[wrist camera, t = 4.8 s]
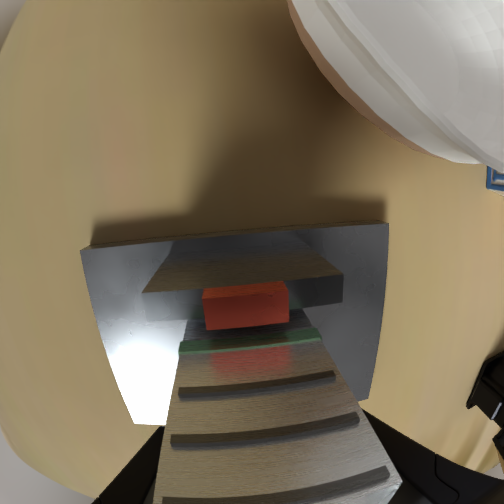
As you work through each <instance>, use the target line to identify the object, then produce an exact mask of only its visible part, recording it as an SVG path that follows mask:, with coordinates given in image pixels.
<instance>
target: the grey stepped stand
mask: <svg viewBox="0 0 504 504" xmlns="http://www.w3.org/2000/svg"><path fill="white" fill-rule="evenodd" d="M388 239H389V223H386V222H382V221H379V220H374V221H357V222H341V223H326V224H312V225H298V226H285V227H272V228H259V229H247V230H236V231H224V232H213V233H202V234H192V235H181V236H171V237H161V238H152V239H142V240H133V241H124V242H115V243H106V244H97V245H89V246H87V247H86V248H84V249H82V250H80V254H81V259H82V264H83V269H84V274H85V278H86V283H87V287H88V291H89V295H90V299H91V303H92V307H93V311H94V314H95V318H96V321H97V325H98V328H99V331H100V335H101V338H102V341H103V344H104V347H105V350H106V353H107V356H108V359H109V362H110V365H111V367H112V370H113V373H114V375H115V378H116V381H117V383H118V386H119V388H120V391H121V393H122V396H123V398H124V400H125V403H126V405H127V407H128V410H129V412H130V414H131V416H132V419H133V421H134V423H136V424H159V425H165V424H166V419H167V413H168V408H169V403H170V398H171V393H172V388H173V383H174V378H175V374H176V369H177V364H178V360H179V355H178V349H179V345H180V341H183V337H184V333H185V328H186V324H187V320H188V319H202V318H205V323H206V329H207V330H217V329H229V328H240V327H250V326H260V325H269V324H277V323H285V322H289V310H292V309H300V308H302V309H303V311H304V312H305V314H306V316H307V317H308V319H309V321H310V322H311V324H312V326H313V327H314V328H315V327H316V328H317V330H318V331H319V333H320V335H321V336H322V343H323V344H324V346H325V348H326V349H327V351H328V353H329V354H330V356H331V358H332V359H333V361H334V363H335V365H336V366H337V368H338V370H339V371H340V373H341V375H342V376H343V378H344V380H345V382H346V383H347V385H348V387H349V388H350V390H351V392H352V393H353V395H354V397H355V399H356V400H357V401H361V400H365V399H368V397H369V392H370V388H371V383H372V378H373V373H374V368H375V362H376V356H377V351H378V344H379V338H380V331H381V324H382V316H383V307H384V298H385V288H386V276H387V261H388Z"/></svg>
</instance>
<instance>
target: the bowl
mask: <svg viewBox="0 0 504 504" xmlns="http://www.w3.org/2000/svg"><path fill="white" fill-rule="evenodd" d="M287 3H288V8H289V13H290V17H291V19H292V21H293V23H294V25H295V28H296V30H297V32H298V35H299V37H300V39H301V41H302V43H303V44H304V46H305V48H306V49H307V51H308V52H309V54H310V55H311V57H312V59H313V60H314V62H315V63H316V65H317V67H318V68H319V70H320V71H321V73H322V74H323V75H324V76H325V77H326V79H327V80H328V81H329V82H330V83H331V85H332V86H333V87H334V88H335V89H336V91H337V92H338V93H339V94H340V95H341V96H342V97H343V98H344V99H345V100H346V101H347V102H348V103H350V104H351V105H352V106H353V107H354V108H355V109H356V110H357V111H358V112H359V113H360V114H361V115H363V116H364V117H365V118H366V119H368V120H369V121H371V122H372V123H373V124H375V125H376V126H377V127H379V128H380V129H381V130H382V131H384V132H385V133H386V134H388V135H389V136H390V137H392V138H394V139H396V140H397V141H399V142H401V143H403V144H405V145H406V146H408V147H410V148H412V149H413V150H416V151H419V152H422V153H425V154H428V155H431V156H434V157H437V158H442V159H446V160H450V161H453V162H458V163H469V164H480V163H483V164H485V165H487V166H489V167H491V168H493V169H495V170H497V171H499V172H501V173H504V0H287Z"/></svg>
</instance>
